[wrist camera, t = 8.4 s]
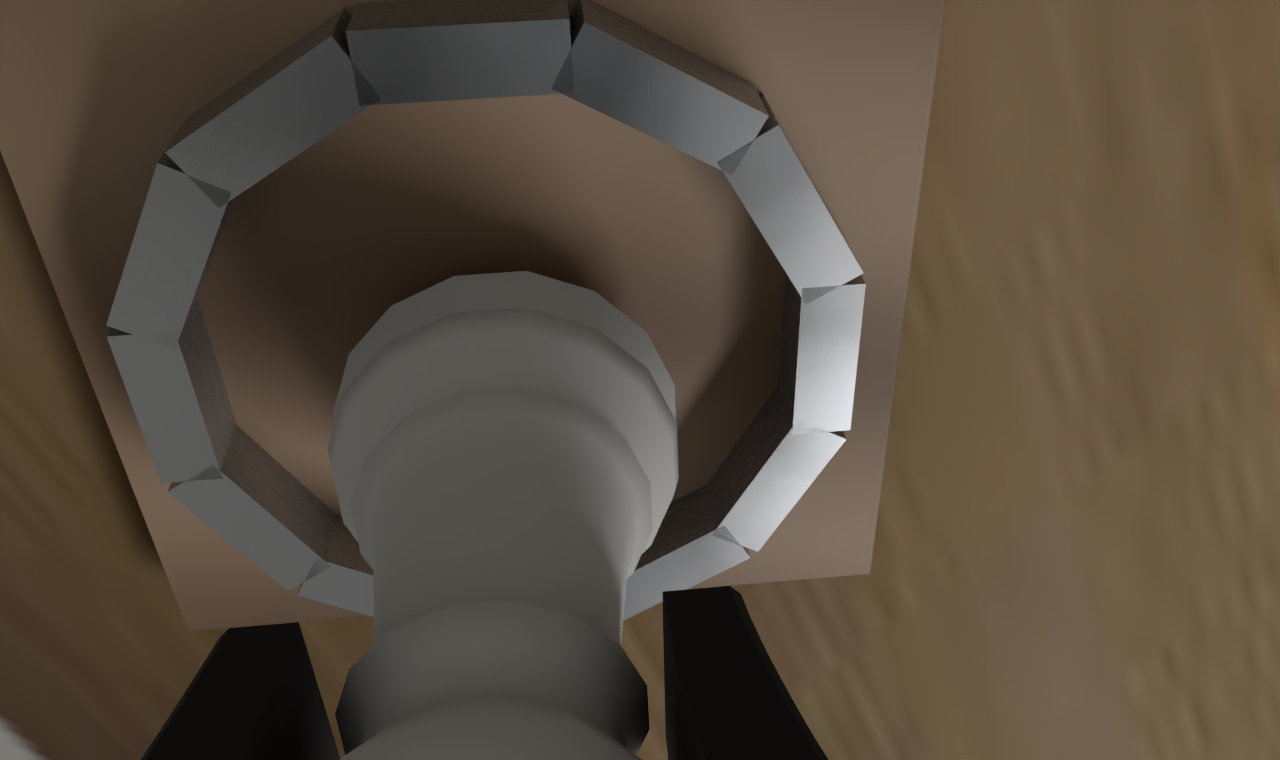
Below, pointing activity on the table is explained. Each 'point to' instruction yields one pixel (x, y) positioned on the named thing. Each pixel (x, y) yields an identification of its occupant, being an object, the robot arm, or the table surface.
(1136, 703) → the table surface
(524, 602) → the rook chess piece
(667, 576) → the socket board
